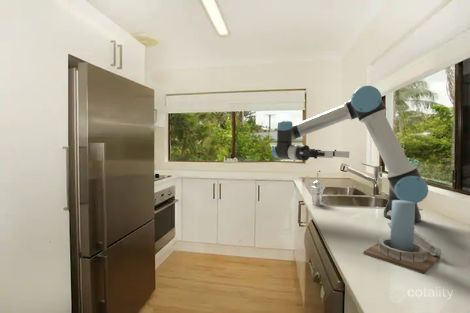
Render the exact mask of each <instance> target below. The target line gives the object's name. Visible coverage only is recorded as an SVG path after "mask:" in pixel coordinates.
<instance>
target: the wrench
mask: <svg viewBox="0 0 470 313" xmlns="http://www.w3.org/2000/svg"><path fill="white" fill-rule="evenodd" d="M391 214H392V211H391V210H390V211H388V212H387V215H390V216H391ZM387 225H388V227H389V228H390V229H391V222H388V223H387ZM414 243H417V244H419V245H421V246H423V247H425V248H426V250H427V252H429V253H430V254H431V255H433V256H440V257H441V255H442V248H441V247H440V246H439V245H437V244H435V242H433V241H431V240H429V239H428V238H426V237H425V236H424V235H422V234H420V233H419V232H417V231H416V230H414Z"/></svg>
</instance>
